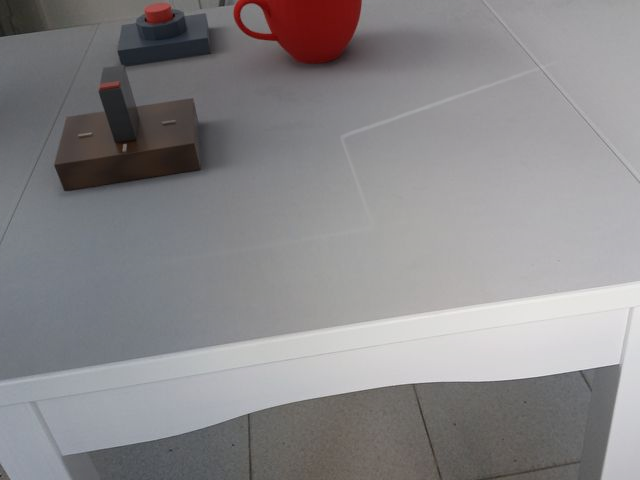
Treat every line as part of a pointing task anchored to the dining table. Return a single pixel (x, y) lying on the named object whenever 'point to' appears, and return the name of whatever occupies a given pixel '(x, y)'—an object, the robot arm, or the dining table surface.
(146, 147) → the dial panel
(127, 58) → the button box
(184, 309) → the dining table surface
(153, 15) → the button
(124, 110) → the pointer knob
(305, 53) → the ceramic cup
